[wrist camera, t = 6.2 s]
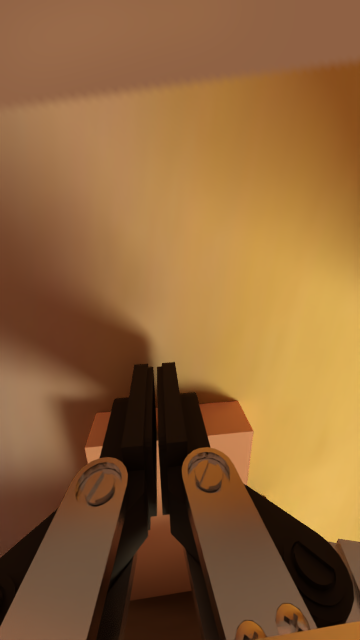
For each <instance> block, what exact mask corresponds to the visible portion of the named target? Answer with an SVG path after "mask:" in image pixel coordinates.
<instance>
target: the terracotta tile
mask: <svg viewBox="0 0 360 640" xmlns="http://www.w3.org/2000/svg"><path fill="white" fill-rule="evenodd" d="M199 406H200V409H201V413H202V417H203V421H204V425H205V428H206V432H207V436H208V440H209V444H210V447H211V448H214V449H217V450H219V451H221V452H223V453H224V454H225V455H227V456H228V457H229V458H230V460H231V461H232V463H233V464H234V466H235V468H236V470H237V472H238V474H239V476H240V478H241V480H242V482H243V483H244V484H245V485H247V480H248V472H249V464H250V455H251V447H252V439H253V429H252V427H251V425H250V424H249V422H248V420H247V418H246V416H245V414H244V412H243V410H242V408H241V406H240V404H239V402H238V401H229V402H218V403H206V404H199ZM110 414H111V412H103V413H96V415H95V418H94V421H93V424H92V427H91V430H90V433H89V436H88V439H87V442H86V445H85V452H86V457H87V462H88V463H90V462H91V461H94V460H96V459H99V458H100V454H101V450H102V446H103V442H104V438H105V434H106V430H107V426H108V422H109V418H110ZM156 424H157V516H154V517H151V526H150V530H148V537H147V539H146V540H145V541H144V543H143V544H142V545H141V546H140V548H139V549H138V550H137V561H136V567H135V573H134V579H133V585H132V591H131V597H130V601H131V600H137V599H143V598H150V597H156V596H162V595H168V594H174V593H181V592H187V591H192V590H191V585H190V580H189V575H188V571H187V566H186V561H185V556H184V551H183V545H182V544H181V543H180V542H179V541H178V540H177V539H176V538H175V537H174V536H173V535H172V534H171V530H170V514H169V515H163V514H162V497H161V481H160V465H159V448H158V408H156Z"/></svg>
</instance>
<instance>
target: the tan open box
mask: <svg viewBox="0 0 360 640" xmlns="http://www.w3.org/2000/svg"><path fill="white" fill-rule="evenodd" d="M264 498H266V497H264ZM266 499H267V498H266ZM123 640H202V638H201V633H200V628H199V623H198V618H197V614H196V609H195V604H194V599H193V594H192V591H187V592H181V593H174V594H168V595H162V596H156V597H150V598H143V599H137V600H131V601H130V603H129V609H128V615H127V621H126V626H125V632H124V638H123Z"/></svg>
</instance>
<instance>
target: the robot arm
mask: <svg viewBox="0 0 360 640" xmlns="http://www.w3.org/2000/svg"><path fill="white" fill-rule="evenodd" d="M157 396H158V448H159V465H160V481H161V497H162V514H163V515H169V514H170V530H171V534H172V535H173V536H174V537H175V538H176V539H177V540H178V541H179V542H180V543H181V544H182V545H183V551H184V556H185V561H186V566H187V571H188V575H189V580H190V585H191V590H192V594H193V599H194V604H195V609H196V614H197V618H198V623H199V628H200V633H201V638H202V640H360V542H356V541H350V540H343V539H338V541H337V543H333V542H327V541H326V540H325V539H324V538H323V537H321V536H320V535H319V534H318V533H316V532H315V531H313V530H312V529H310V528H309V527H307V526H306V525H304V524H303V523H301V522H300V521H298V520H297V519H295V518H294V517H293V516H291V515H290V514H288V513H287V512H285V511H284V510H282V509H281V508H279V507H278V506H276V505H275V504H273V503H272V502H270V501H269V500H267V499H266V498H264V497H263V496H261V495H260V494H258V493H257V492H255V491H254V490H253V489H251V488H250V487H248V486H247V485H245V484H244V483H243V482H242V480H241V478H240V476H239V474H238V472H237V470H236V468H235V466H234V464H233V463H232V461H231V460H230V458H229V457H228V456H227V455H225V454H224V453H223V452H221V451H219V450H217V449H214V448H211V447H210V444H209V440H208V436H207V432H206V428H205V425H204V421H203V417H202V413H201V409H200V406H199V402H198V398H197V395H196V393H195V392H194V393H181V394H180V392H179V386H178V380H177V373H176V367H175V362H171V363H162V367H157ZM154 516H157V424H156V406H155V390H154V373H153V367H148V364H140V365H134V371H133V377H132V383H131V390H130V396H129V398H116V399H115V400H114V403H113V406H112V410H111V414H110V418H109V422H108V426H107V430H106V434H105V438H104V442H103V446H102V450H101V454H100V458H99V459H96V460H94V461H91V462H90V463H88V464H87V465H85V466H84V467H83V468H82V469H81V470H80V471H79V472H78V473H77V474H76V475H75V477H74V478H73V480H72V482H71V484H70V486H69V488H68V490H67V492H66V494H65V496H64V498H63V500H62V502H61V504H60V506H59V508H58V509H57V510H56V511H55V512H53V513H52V514H51V515H50V516H49V517H48V518H46V519H45V520H44V521H43V522H42V523H41V524H39V525H38V526H37V527H36V528H35V529H34V530H32V531H31V532H30V533H29V534H28V535H27V536H25V537H24V538H23V539H22V540H21V541H20V542H18V543H17V544H16V545H15V546H14V547H13V548H11V549H10V550H9V551H8V552H7V553H6V554H4V555H3V556H2V557H1V558H0V640H123V638H124V632H125V626H126V621H127V615H128V609H129V603H130V597H131V591H132V585H133V579H134V573H135V567H136V561H137V550H138V549H139V548H140V546H141V545H142V544H143V543H144V541H145V540H146V539H147V537H148V530H150V526H151V517H154Z"/></svg>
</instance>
